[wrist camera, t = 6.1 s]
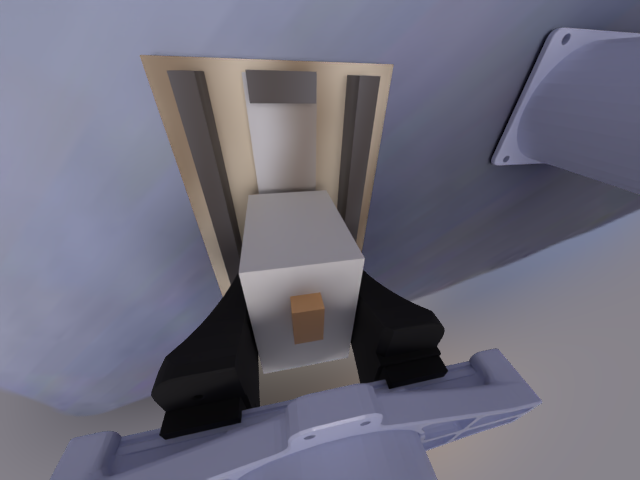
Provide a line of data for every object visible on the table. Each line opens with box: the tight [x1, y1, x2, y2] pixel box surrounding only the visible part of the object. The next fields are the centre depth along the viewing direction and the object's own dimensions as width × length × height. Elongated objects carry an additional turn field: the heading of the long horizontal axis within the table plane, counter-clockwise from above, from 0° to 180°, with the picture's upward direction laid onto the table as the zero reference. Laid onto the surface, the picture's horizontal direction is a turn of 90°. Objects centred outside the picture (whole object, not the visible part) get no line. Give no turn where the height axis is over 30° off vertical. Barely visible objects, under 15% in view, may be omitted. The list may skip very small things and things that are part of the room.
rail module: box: [239, 190, 365, 374], centre depth 12 cm, size 4×7×7 cm, turn 179°
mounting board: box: [140, 55, 393, 296], centre depth 17 cm, size 12×20×3 cm, turn 179°
